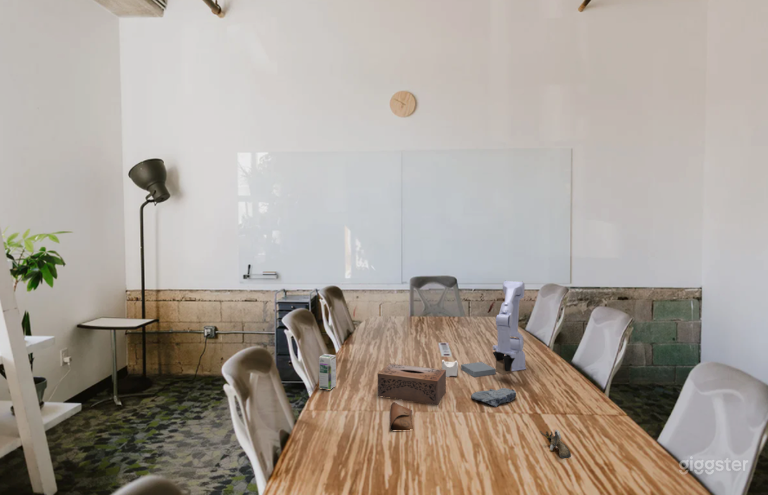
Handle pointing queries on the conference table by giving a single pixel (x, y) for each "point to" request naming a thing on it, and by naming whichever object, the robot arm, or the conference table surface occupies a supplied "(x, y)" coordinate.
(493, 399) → the fossil
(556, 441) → the grey-brown figure
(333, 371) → the syrup box
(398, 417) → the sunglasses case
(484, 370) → the base slab
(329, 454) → the conference table surface
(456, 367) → the bracket
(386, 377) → the tissue box cover
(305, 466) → the conference table surface
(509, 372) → the walnut cube
